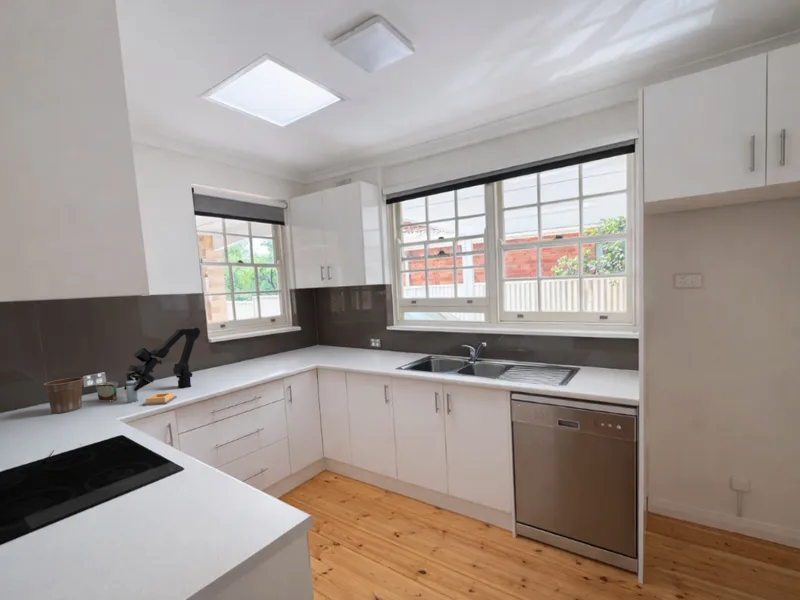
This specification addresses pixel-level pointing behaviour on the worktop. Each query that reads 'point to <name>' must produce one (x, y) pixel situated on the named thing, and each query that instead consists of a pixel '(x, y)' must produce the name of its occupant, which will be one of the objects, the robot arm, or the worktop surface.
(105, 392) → the food container
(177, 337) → the robot arm
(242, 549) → the worktop surface
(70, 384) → the plant pot
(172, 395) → the dock
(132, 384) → the canister
